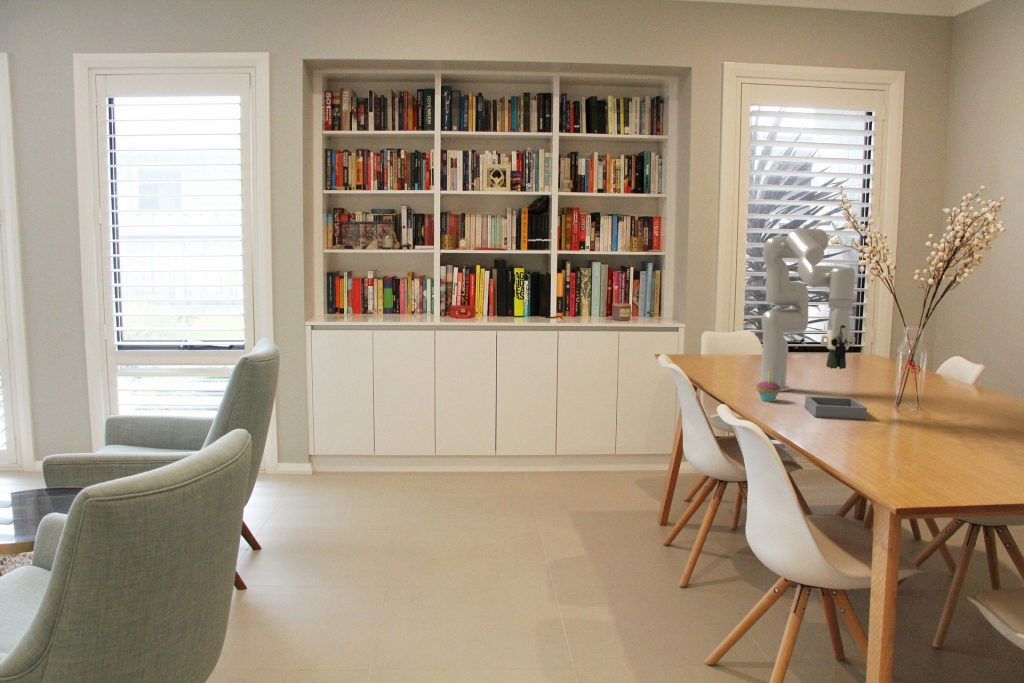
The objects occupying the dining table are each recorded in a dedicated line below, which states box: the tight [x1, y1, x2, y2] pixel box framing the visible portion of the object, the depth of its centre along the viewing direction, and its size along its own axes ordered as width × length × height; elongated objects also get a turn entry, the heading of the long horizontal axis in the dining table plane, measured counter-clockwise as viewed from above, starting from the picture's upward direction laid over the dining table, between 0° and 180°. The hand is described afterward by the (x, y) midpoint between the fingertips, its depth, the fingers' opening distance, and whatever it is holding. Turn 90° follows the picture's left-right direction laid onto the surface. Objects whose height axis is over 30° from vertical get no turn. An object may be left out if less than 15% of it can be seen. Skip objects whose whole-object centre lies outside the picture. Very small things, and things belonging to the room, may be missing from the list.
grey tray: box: [804, 395, 868, 421], centre depth 266 cm, size 16×16×4 cm
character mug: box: [820, 330, 856, 370], centre depth 263 cm, size 11×7×13 cm, turn 81°
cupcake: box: [755, 371, 780, 403], centre depth 286 cm, size 9×8×12 cm
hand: (836, 356), depth 264 cm, fingers closed on character mug, 7 cm apart
